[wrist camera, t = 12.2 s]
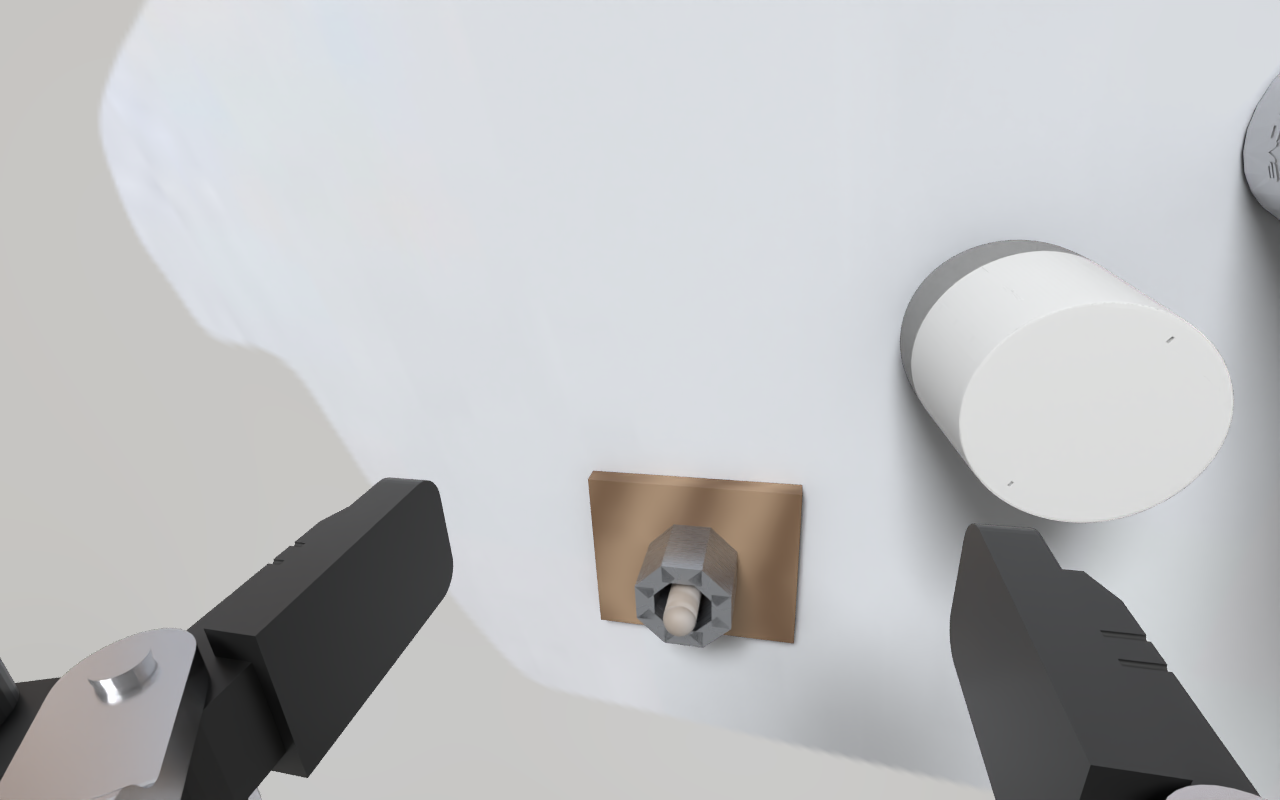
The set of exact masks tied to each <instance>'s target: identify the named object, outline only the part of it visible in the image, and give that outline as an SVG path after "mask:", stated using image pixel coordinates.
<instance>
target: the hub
mask: <svg viewBox="0 0 1280 800" xmlns="http://www.w3.org/2000/svg"><path fill="white" fill-rule="evenodd" d="M672 583H675V584H684V585H694V586H695V587H696V588H697V589H698V590H700V591H701V592H702V594H701V599H700V604H699V609H698V614H697V619H696V624H695V627H694V629H693V630H692V631H691V632H690V633H689V634H688V635H686V636H681V637H678V636H674V635H672V634H671V633H669V632H668V631H667V629H666V628H665V626H664V623H663V615H664V611H665V607H666V604H667V600H668V596H669V592H670V589H671V585H672ZM736 586H737V551H736V550H735V549H734V548H733V547H731V546H730V545H729V544H728V543H727V542H726V541H725V540H724V539H723V538H722V537H721V536H719V535H718V534H717V533H716V532H715V531H714V530H713V529H712V528H711V527H699V526H687V525H675V524H674V525H672V526H671V527H670V528H669V529H667V530H666V531H665V532H664V533H662V534H661V535H660V536H659V537H657V538H656V539H655V540H654V541H652V542H651V543H650V544H649V547H648V550H647V552H646V555H645V558H644V561H643V564H642V567H641V570H640V572H639V575H638V578H637V581H636V584H635V600H636V615H637V619H639V620H640V621H641V622H642V623H643V624H644V625H645V626H647V627H648V628H649V629H650V630H651V631H652V632H653V633H654V634H656V635H657V636H658V637H659V638H660V639H661V640H662V641H664V642H665V643H672V644H680V645H688V646H696V647H705V646H706V645H708V644H709V643H711V642H712V641H714V640H715V639H717V638H718V637H720V636H721V635H723V634H725V633H726V632H728V631H729V630H731V626H732V618H733V610H734V602H735V594H736Z"/></svg>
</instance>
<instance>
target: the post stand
mask: <svg viewBox="0 0 1280 800" xmlns="http://www.w3.org/2000/svg"><path fill="white" fill-rule="evenodd" d="M588 484H589V495H590V505H591V516H592V527H593V537H594V548H595V559H596V570H597V580H598V591H599V602H600V613H601V620H609V621H617V622H625V623H633V624H641V625H644V624H643V623H642V622H641V621H640V620H639V619H637V615H636V600H635V584H636V581H637V578H638V575H639V572H640V570H641V567H642V564H643V561H644V558H645V555H646V552H647V550H648V547H649V544H650V543H651V542H652V541H654V540H655V539H656V538H657V537H659V536H660V535H661V534H662V533H664V532H665V531H666V530H667V529H669V528H670V527H671V526H672V525H674V524H675V525H687V526H699V527H711V528H712V529H713V530H714V531H715V532H716V533H717V534H718V535H719V536H721V537H722V538H723V539H724V540H725V541H726V542H727V543H728V544H729V545H730V546H731V547H733V548H734V549H735V550H736V551H737V586H736V594H735V602H734V610H733V618H732V626H731V630H729V631H728V632H726V633H725V634H723V635H730V636H738V637H746V638H754V639H763V640H771V641H779V642H787V643H794V628H795V611H796V594H797V577H798V560H799V543H800V526H801V509H802V485H793V484H778V483H764V482H749V481H734V480H720V479H705V478H691V477H676V476H661V475H647V474H632V473H617V472H603V471H593V472H592V474H591V475H590V477H589V479H588ZM701 594H702V592H701V591H700V590H698V589H697V588H696V587H695V586H694V585H684V584H675V583H672V585H671V589H670V592H669V596H668V600H667V604H666V607H665V611H664V615H663V623H664V626H665V628H666V629H667V631H668V632H669V633H671V634H672V635H674V636H678V637H681V636H686V635H688V634H689V633H690V632H691V631H692V630H693V629H694V627H695V624H696V619H697V614H698V609H699V604H700V599H701Z"/></svg>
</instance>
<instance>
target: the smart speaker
mask: <svg viewBox="0 0 1280 800" xmlns="http://www.w3.org/2000/svg"><path fill="white" fill-rule="evenodd" d="M900 350H901V358H902V362H903V366H904V369H905V372H906V375H907V377H908V380H909V382H910V384H911V386H912V388H913V390H914V392H915V393H916V395H917V397H918V398H919V400H920V402H921V403H922V405H923V406H924V408H925V409H926V410H927V412H928V413H929V414H930V416H931V417H932V418H933V420H934V421H935V422H936V424H937V425H938V426H939V428H940V429H941V430H942V432H943V433H944V434H945V436H946V437H947V438H948V440H949V441H950V442H951V444H952V445H953V446H954V448H955V449H956V450H957V452H958V453H959V454H960V456H961V457H962V458H963V460H964V461H965V462H966V464H967V465H968V466H969V468H970V469H971V470H972V472H973V473H974V474H975V476H976V477H977V478H978V479H979V480H980V481H981V483H982V484H983V485H984V486H985V487H986V488H987V489H988V490H989V491H991V492H992V493H993V494H994V495H996V496H997V497H998V498H1000V499H1001V500H1003V501H1004V502H1006V503H1007V504H1009V505H1011V506H1013V507H1015V508H1017V509H1019V510H1021V511H1024V512H1026V513H1029V514H1032V515H1035V516H1038V517H1041V518H1045V519H1050V520H1056V521H1062V522H1074V523H1091V522H1102V521H1109V520H1115V519H1120V518H1124V517H1127V516H1131V515H1134V514H1137V513H1140V512H1142V511H1145V510H1147V509H1150V508H1152V507H1154V506H1156V505H1158V504H1160V503H1162V502H1164V501H1166V500H1168V499H1169V498H1171V497H1172V496H1174V495H1175V494H1177V493H1179V492H1180V491H1181V490H1183V489H1184V488H1185V487H1187V486H1188V485H1189V484H1191V483H1192V482H1193V481H1194V480H1195V479H1196V478H1197V477H1198V476H1199V475H1200V474H1201V473H1202V472H1203V471H1204V470H1205V469H1206V468H1207V466H1208V465H1209V464H1210V463H1211V461H1212V460H1213V459H1214V457H1215V456H1216V454H1217V453H1218V451H1219V450H1220V448H1221V446H1222V444H1223V443H1224V440H1225V438H1226V436H1227V434H1228V431H1229V428H1230V424H1231V421H1232V415H1233V405H1234V397H1233V387H1232V382H1231V378H1230V375H1229V372H1228V369H1227V367H1226V364H1225V362H1224V360H1223V358H1222V357H1221V355H1220V354H1219V352H1218V350H1217V349H1216V348H1215V346H1214V345H1213V344H1212V342H1211V341H1210V340H1209V339H1208V338H1207V337H1206V336H1205V335H1204V334H1203V333H1202V332H1200V331H1199V330H1198V329H1196V328H1195V327H1194V326H1193V325H1191V324H1190V323H1188V322H1187V321H1186V320H1184V319H1183V318H1181V317H1180V316H1178V315H1177V314H1175V313H1173V312H1172V311H1170V310H1169V309H1167V308H1166V307H1164V306H1163V305H1161V304H1159V303H1158V302H1156V301H1155V300H1153V299H1152V298H1150V297H1149V296H1147V295H1145V294H1144V293H1142V292H1141V291H1139V290H1138V289H1136V288H1135V287H1133V286H1132V285H1130V284H1128V283H1127V282H1125V281H1124V280H1122V279H1121V278H1119V277H1118V276H1116V275H1114V274H1113V273H1111V272H1110V271H1108V270H1107V269H1105V268H1103V267H1102V266H1100V265H1099V264H1097V263H1095V262H1093V261H1091V260H1089V259H1088V258H1086V257H1084V256H1081V255H1079V254H1077V253H1075V252H1073V251H1070V250H1068V249H1065V248H1062V247H1060V246H1056V245H1053V244H1049V243H1044V242H1039V241H1030V240H1007V241H998V242H992V243H988V244H984V245H980V246H977V247H974V248H971V249H969V250H966V251H964V252H962V253H960V254H958V255H956V256H954V257H952V258H951V259H949V260H947V261H946V262H944V263H943V264H942V265H940V266H939V267H938V268H936V269H935V270H934V271H933V272H932V273H931V274H930V275H929V276H928V277H927V278H926V279H925V280H924V281H923V282H922V283H921V285H920V286H919V287H918V289H917V290H916V292H915V293H914V295H913V297H912V299H911V301H910V302H909V304H908V307H907V309H906V312H905V315H904V318H903V322H902V327H901V335H900Z"/></svg>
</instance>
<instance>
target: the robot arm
mask: <svg viewBox="0 0 1280 800" xmlns="http://www.w3.org/2000/svg"><path fill="white" fill-rule="evenodd" d="M1243 155H1244V171H1245V175H1246V178H1247V181H1248V184H1249V187H1250V189H1251V192H1252V193H1253V195H1254V196H1255V197H1256V199H1257V200H1258V201H1259V203H1260V204H1261V205H1262V207H1263V208H1264V209H1266V210H1267V211H1268V212H1270V213H1271V214H1272V215H1274V216H1275V217H1276V218H1278V219H1279V220H1280V74H1279V75H1278V76H1277V77H1276V78H1275V79H1274V80H1273V81H1272V83H1271V85H1270V86H1269V88H1268V89H1267V91H1266V92H1265V94H1264V95H1263V97H1262V99H1261V100H1260V102H1259V103H1258V105H1257V107H1256V110H1255V112H1254V114H1253V117H1252V119H1251V122H1250V124H1249V127H1248V129H1247V135H1246V140H1245V145H1244V151H1243ZM452 573H453V558H452V553H451V548H450V543H449V538H448V533H447V528H446V523H445V518H444V513H443V508H442V503H441V498H440V494H439V491H438V488H437V487H436V485H435V484H434V483H433V482H431V481H427V480H414V479H401V478H384V479H382V480H381V481H379V482H378V483H377V484H376V485H374V486H373V487H372V488H371V489H370V490H369V491H367V492H366V493H365V494H364V495H362V496H361V497H360V498H359V499H358V500H356V501H355V502H354V503H353V504H352V505H350V506H349V507H347V508H345V509H343V510H341V511H339V512H337V513H335V514H334V515H332V516H330V517H328V518H326V519H324V520H322V521H320V522H319V523H318V524H316V525H315V526H314V527H313V528H311V529H310V530H309V531H308V532H307V533H305V534H304V535H303V536H302V537H300V538H299V539H298V540H297V541H295V545H294V546H289V547H288V548H287V549H286V550H285V551H283V552H282V553H281V554H280V555H278V556H277V557H276V558H275V559H274V562H273V564H267V565H266V566H265V567H264V568H262V569H261V570H260V571H259V572H258V573H256V574H255V575H254V576H253V577H251V578H250V579H249V580H248V581H246V582H245V583H244V584H243V585H242V586H240V587H239V588H238V589H237V590H235V591H234V592H233V593H232V594H231V595H230V596H228V597H227V598H226V599H224V600H223V601H222V602H221V603H220V604H218V605H217V606H216V607H215V608H213V609H212V610H211V611H210V612H208V613H207V614H206V615H205V616H204V617H202V618H201V619H200V620H199V621H197V622H196V623H195V624H194V625H193V626H191V627H190V628H189V629H188V630H187V631H186V630H182V629H177V628H161V629H154V630H149V631H145V632H141V633H138V634H134V635H131V636H128V637H126V638H124V639H121V640H118V641H116V642H114V643H112V644H110V645H108V646H105V647H103V648H102V649H100V650H98V651H96V652H95V653H93V654H91V655H90V656H88V657H86V658H85V659H83V660H82V661H80V662H79V663H78V664H77V665H75V666H74V667H73V668H71V669H70V670H69V671H68V672H67V673H66V674H65V675H63V676H62V677H60V678H52V679H44V680H36V681H29V682H20V683H14V681H13V679H12V677H11V676H10V674H9V672H8V671H7V669H6V667H5V666H4V664H3V662H2V660H1V659H0V800H262V799H261V795H260V792H259V790H258V788H257V787H258V786H259V784H260V783H261V782H262V781H263V779H264V778H265V777H266V776H267V775H268V774H269V772H270V771H276V772H281V773H286V774H291V775H296V776H301V777H306V778H308V777H309V775H310V774H311V773H312V772H313V770H314V769H315V768H316V766H317V765H318V764H319V762H320V761H321V760H322V758H323V757H324V756H325V754H326V753H327V752H328V750H329V749H330V748H331V746H332V745H333V744H334V742H335V741H336V740H337V738H338V737H339V736H340V735H341V733H342V732H343V731H344V729H345V728H346V727H347V725H348V724H349V722H350V721H351V720H352V719H353V717H354V716H355V715H356V713H357V712H358V711H359V709H360V708H361V707H362V705H363V704H364V703H365V701H366V700H367V699H368V698H369V696H370V695H371V694H372V692H373V691H374V690H375V688H376V687H377V686H378V684H379V683H380V681H381V680H382V679H383V678H384V676H385V675H386V674H387V672H388V671H389V670H390V668H391V667H392V666H393V664H394V663H395V662H396V660H397V659H398V658H399V656H400V655H401V654H402V652H403V651H404V650H405V649H406V647H407V646H408V645H409V643H410V642H411V641H412V639H413V638H414V636H415V635H416V634H417V633H418V631H419V630H420V629H421V627H422V626H423V625H424V623H425V622H426V621H427V619H428V618H429V617H430V615H431V614H432V613H433V611H434V610H435V609H436V607H437V606H438V605H439V603H440V602H441V601H442V600H443V598H444V597H445V595H446V593H447V591H448V588H449V586H450V583H451V579H452ZM950 644H951V652H952V657H953V662H954V665H955V668H956V672H957V675H958V678H959V682H960V685H961V688H962V691H963V695H964V698H965V701H966V704H967V708H968V711H969V714H970V718H971V721H972V724H973V727H974V731H975V734H976V737H977V740H978V744H979V747H980V750H981V754H982V757H983V760H984V763H985V767H986V770H987V773H988V776H989V780H990V783H991V786H992V790H993V793H994V796H995V799H996V800H1267V799H1264V798H1262V797H1260V795H1259V794H1258V792H1257V791H1256V789H1255V788H1254V787H1253V785H1252V784H1251V782H1250V781H1249V780H1248V778H1247V777H1246V775H1245V774H1244V772H1243V771H1242V770H1241V768H1240V767H1239V765H1238V764H1237V763H1236V761H1235V760H1234V758H1233V757H1232V756H1231V754H1230V753H1229V751H1228V750H1227V748H1226V747H1225V746H1224V744H1223V743H1222V741H1221V740H1220V739H1219V737H1218V736H1217V734H1216V733H1215V732H1214V730H1213V729H1212V727H1211V726H1210V724H1209V723H1208V722H1207V720H1206V719H1205V717H1204V716H1203V715H1202V713H1201V712H1200V710H1199V709H1198V708H1197V706H1196V705H1195V703H1194V702H1193V700H1192V699H1191V698H1190V696H1189V695H1188V693H1187V692H1186V691H1185V689H1184V688H1183V686H1182V685H1181V684H1180V682H1179V681H1178V679H1177V678H1176V676H1175V675H1174V674H1173V672H1168V671H1167V664H1166V662H1165V661H1164V659H1163V658H1162V657H1161V655H1160V654H1159V652H1158V651H1157V650H1156V648H1155V647H1154V645H1153V644H1152V643H1151V642H1147V641H1146V634H1145V633H1144V631H1143V630H1142V628H1141V627H1140V626H1139V624H1138V623H1137V621H1136V620H1135V619H1134V617H1133V616H1132V614H1131V613H1130V611H1129V610H1128V609H1127V607H1126V606H1125V604H1124V603H1123V602H1122V601H1121V600H1120V599H1119V598H1118V597H1116V596H1115V595H1114V594H1112V593H1111V592H1110V591H1108V590H1107V589H1106V588H1105V587H1103V586H1102V585H1101V584H1099V583H1098V582H1097V581H1095V580H1094V579H1093V578H1092V577H1090V576H1089V575H1088V574H1086V573H1085V572H1084V571H1074V570H1063V569H1061V567H1060V565H1059V564H1058V562H1057V560H1056V559H1055V557H1054V556H1053V554H1052V552H1051V551H1050V549H1049V548H1048V546H1047V544H1046V543H1045V541H1044V540H1043V538H1042V536H1041V535H1040V533H1039V532H1038V531H1037V530H1036V529H1033V528H1024V527H1011V526H998V525H985V524H971V525H969V527H968V528H967V530H966V533H965V537H964V542H963V547H962V553H961V558H960V564H959V570H958V575H957V581H956V587H955V592H954V598H953V603H952V609H951V615H950Z"/></svg>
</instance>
